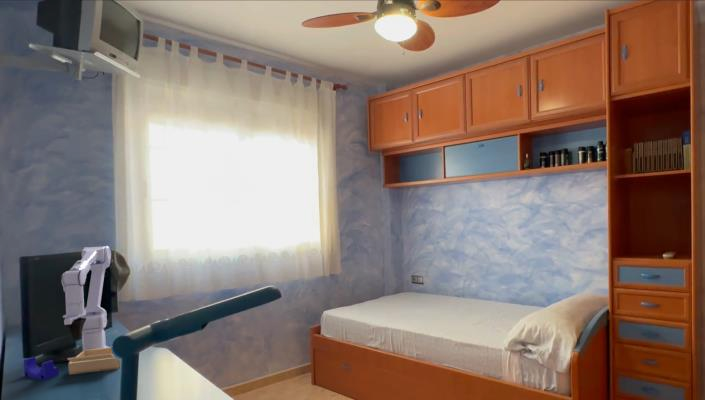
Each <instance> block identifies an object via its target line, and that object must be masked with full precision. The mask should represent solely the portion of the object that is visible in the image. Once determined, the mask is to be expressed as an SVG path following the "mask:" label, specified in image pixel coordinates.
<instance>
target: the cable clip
mask: <svg viewBox="0 0 705 400" xmlns="http://www.w3.org/2000/svg"><path fill="white" fill-rule="evenodd" d="M23 371H24V377H26V378H27V377H28V378H32V379H37V380H41V381H48V380H49V379H52V378H55V377H58V376H59V367H58V366H54V360H53V359H50V360H47V361H44V362H41V367H39V366H38V363H37V359H36V357H34V356H32V357H29V358H26V359H23Z"/></svg>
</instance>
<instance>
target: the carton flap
mask: <svg viewBox="0 0 705 400" xmlns="http://www.w3.org/2000/svg"><path fill="white" fill-rule="evenodd" d="M112 357H114V355H113V354H112V353H106V354H98V355H89V356H81V357H76V356H73V357H67V361H69V362H70V361H71V362H79V361H87V360H95V359H104V358H112Z"/></svg>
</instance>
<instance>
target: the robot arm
mask: <svg viewBox="0 0 705 400" xmlns="http://www.w3.org/2000/svg"><path fill="white" fill-rule="evenodd" d="M111 259H112V250H111V248H110V246H108V245H105V246H93V247H92V246H90V247H86V246H84V247H83V249H82V250H81V259H80V260H77V261H76V262H75V263H74V264H73V265H72V267H70V269H69V270H67V271H66V270H65V272H63V273H62V275H61V286H62V287H63V292H64V294H65V297H64V298H65V314H64V315H62V318H63V319H64V320H63V323H64V326H66V327H67V328H68V330H69V332H70V335H71V337H72V340H73V341H74V340H80V339H81V341H82V343H81V344H82V351H84V350H90V349H98V348H107V347H109V345H107V343H106V342H107V340H106V332H105V330H104V329H105V328H106V327H107V325H108V324H107V323H108V317H107V316H108V313H107V310H106V309H105V308H103V307H101V302H102V295H103V287H104V280H105V279H104V278H105V273H106V269H108V268H109V267H110V264H111ZM89 271H91V275H90V281H89V288H88V295H87V301H86V306H85V299H84V297H85V296H84V295H85V294H84V285H85V283H86V281H87V280H86V279H87V275H88V273H89Z"/></svg>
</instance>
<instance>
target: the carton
mask: <svg viewBox="0 0 705 400" xmlns="http://www.w3.org/2000/svg"><path fill="white" fill-rule="evenodd" d="M111 347H112V346H108V347H107V348H98V349H90V350H84V351H83V350H82V351H81V352H80V353H78V354H77V355H76V356H75V357H81V356H89V355H98V354H106V353H112V350H111ZM67 368H68V375H78V374H86V373H94V372H95V373H96V372H101V371H103V372H104V371H110V370H111V371H112V370H118V369H120V368H121V367H120V361H119V360H118V359H117V358H115V357H112V358H104V359H95V360H87V361H79V362H71V361H69V362H68V367H67Z"/></svg>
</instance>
